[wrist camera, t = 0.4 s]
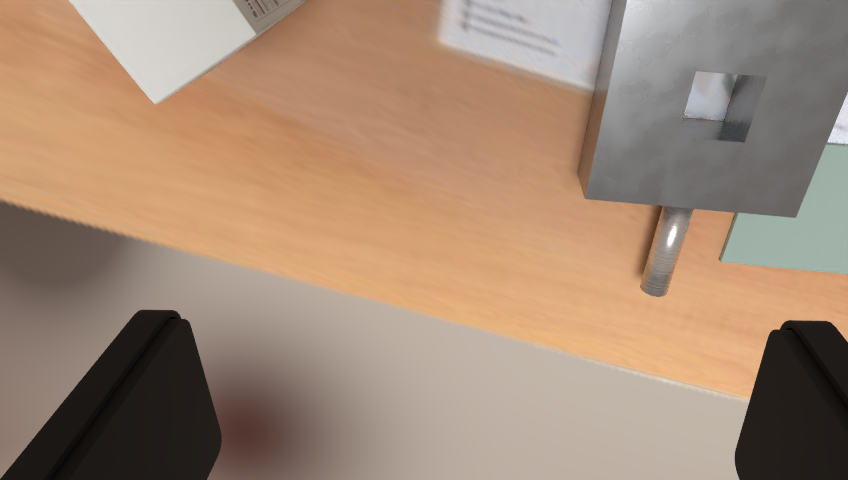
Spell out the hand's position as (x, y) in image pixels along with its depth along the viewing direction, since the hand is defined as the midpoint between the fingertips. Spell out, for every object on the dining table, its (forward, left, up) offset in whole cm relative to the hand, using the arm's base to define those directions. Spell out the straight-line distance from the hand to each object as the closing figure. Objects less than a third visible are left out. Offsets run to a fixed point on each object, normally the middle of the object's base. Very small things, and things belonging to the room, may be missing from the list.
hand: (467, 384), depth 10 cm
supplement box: (-1, -16, -35) cm, 39 cm away
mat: (+12, +25, -35) cm, 45 cm away
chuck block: (+8, +15, -35) cm, 39 cm away
